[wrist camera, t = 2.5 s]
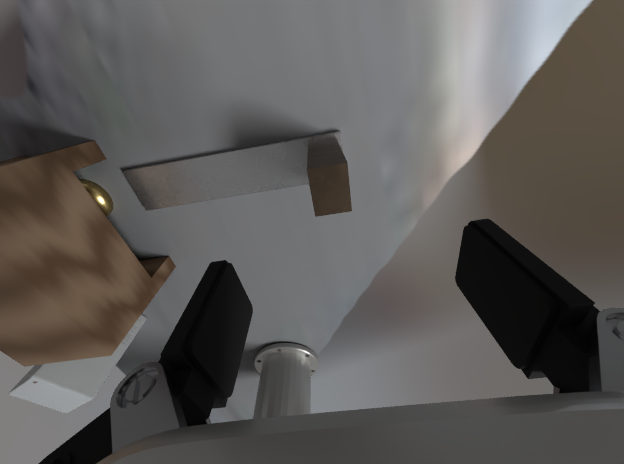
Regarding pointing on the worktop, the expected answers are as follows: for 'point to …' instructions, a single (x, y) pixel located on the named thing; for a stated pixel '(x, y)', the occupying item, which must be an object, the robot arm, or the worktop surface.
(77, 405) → the supplement box
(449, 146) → the worktop surface
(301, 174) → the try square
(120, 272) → the cabinet
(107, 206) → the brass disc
